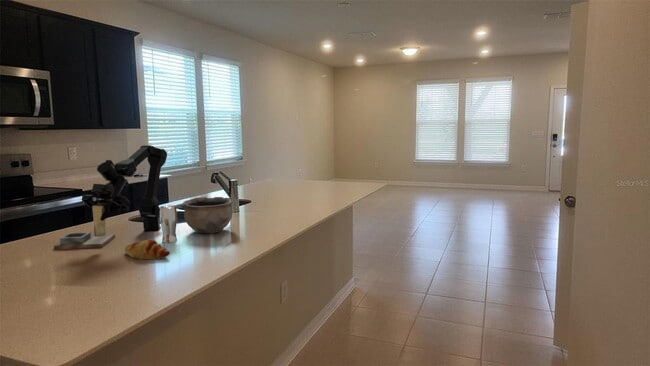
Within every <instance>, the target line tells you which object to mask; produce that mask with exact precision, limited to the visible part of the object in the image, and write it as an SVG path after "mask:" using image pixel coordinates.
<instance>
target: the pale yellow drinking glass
mask: <svg viewBox="0 0 650 366" xmlns="http://www.w3.org/2000/svg"><path fill="white" fill-rule="evenodd" d="M92 207H93V220H92V222H93V231H94V234H93V235H95V237H102V236H105V235H106V234H107V229H106V226H107V225H106V219H105V220H103V221H102V220H101V217H102V214H103V213H104V211H105V204H101V205H94V206H92Z"/></svg>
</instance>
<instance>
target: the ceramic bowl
mask: <svg viewBox="0 0 650 366" xmlns="http://www.w3.org/2000/svg"><path fill="white" fill-rule="evenodd" d="M182 204H183V207H184V211H183V217H184V218H183V219H184V220H185V222H186V224H187V225H188V227H190V228H191V229H192V230H193V231H194V232H196V233H201V234H212V233H213V234H214V233H218V232H222V231H223V230H224V229H225V228H226V227H228V225H229V224H230V222H231V220H232V218H233V210H232V207H231V204H232V199H231V198H229V197H225V198H224V197H223V196H214V197H213V199H209V198H208V197H206V196H201V197H194V198H191V199H187V200H184V201H183V202H182Z"/></svg>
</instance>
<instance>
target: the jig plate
mask: <svg viewBox="0 0 650 366" xmlns="http://www.w3.org/2000/svg"><path fill="white" fill-rule="evenodd" d="M115 238H116V234H115V233H106V235H105V236H102V237H95V234H92V233H91V231H89V232H88V231H87V232H68V233H67V234H65V235H63V236H61V237H60V238H59V241H58V242H57V243H55V244H53V250H70V249H71V250H72V249H93V248H95V249H97V248H99V249H100V248H104V247H105V246H107V244H108V243H110V242H111V241H112V240H114V239H115Z"/></svg>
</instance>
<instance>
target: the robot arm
mask: <svg viewBox="0 0 650 366" xmlns="http://www.w3.org/2000/svg"><path fill="white" fill-rule="evenodd" d="M167 157H168V152H167V151H166V149H164V148H159V147H157V146H156V147H155V146H154V145H150V144H142V145H141V146H140V147H139V148H138V149H137V150H136V151H135V152H134V153H133V154H131V155H130V157H128V158H126V159H123V160H120V161H118V162H117V163H115V164H114V162H113V161H112V160H111V159H106V161H104V162H101V163H100V164H99V165H98V166H97V168H96V171H97V172H98V174H99V175H100V176H102V178H103V179H104V180H105V181H107V183H106V184H104V183H103V184H102V183H93V184H92V189H91V193H95V194H96V196H97V197H96V196H95V195H93V194H84V195H83V196H82V198H81V201H82V202H83V203H84V204H85V205H87V207H88V208H91V213H90V215H91V216H90V220H91V221H93V207H92V206H94V205H106V207H105V208H104V213H103V214H102V217H101V220H102V221H103V220H105V221H106V219H108V218H109V217H110V216H112V215H114V214H115V213H117V212H120V211H121V209H122V210H126V211H127V210H128V211H129V209H130V208H131V205H132V204H131V202H130V201H129V199H127V197H126V196H123V193H122V190H123V188H124V186H130V185H129V181H128V178H126V177H130V178H131V177H132V176H134V174H135V173H136V172H137V170H138V169H137V167H138V166H139V165H140V164H141V163H143V161H145V160H146V159H147V162H148V165H149V170H148V171H149V172H148V176H147V182H146V188H145V194H144V196H143V197H142V198H140V199H139V204H138V205H137V206H138V212H139V215H140V218H143V221H142V222H143V232H156V231H157V232H158V231H159V230H161V229H162V227H161V223H160V202H159V200H158V196H157V195H158V189H159V183H160V182H159V181H160V176H161V169H162V167H163V166H164V165H165V163H166V161H167Z"/></svg>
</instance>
